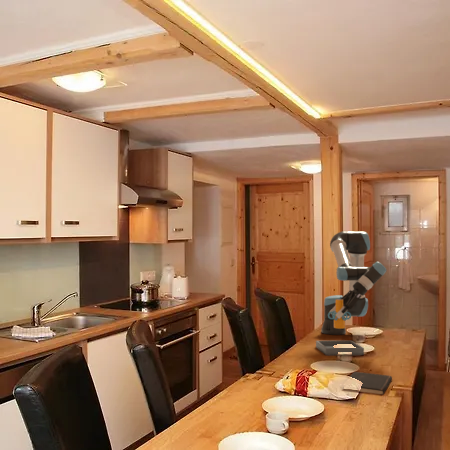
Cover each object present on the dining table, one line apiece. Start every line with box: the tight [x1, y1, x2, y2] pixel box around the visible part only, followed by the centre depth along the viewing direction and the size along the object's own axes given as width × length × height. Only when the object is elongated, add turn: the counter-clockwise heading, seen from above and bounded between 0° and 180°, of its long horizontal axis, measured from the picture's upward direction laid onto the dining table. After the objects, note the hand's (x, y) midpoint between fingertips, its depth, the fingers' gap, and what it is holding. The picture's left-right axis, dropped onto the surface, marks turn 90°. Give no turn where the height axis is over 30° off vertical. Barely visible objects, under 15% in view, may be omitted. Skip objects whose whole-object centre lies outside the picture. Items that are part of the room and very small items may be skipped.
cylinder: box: [328, 299, 352, 329], centre depth 280 cm, size 12×10×15 cm
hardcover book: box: [349, 371, 393, 395], centre depth 216 cm, size 16×23×2 cm
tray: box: [315, 339, 365, 356], centre depth 280 cm, size 20×20×4 cm
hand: (334, 315), depth 280 cm, fingers closed on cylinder, 11 cm apart
